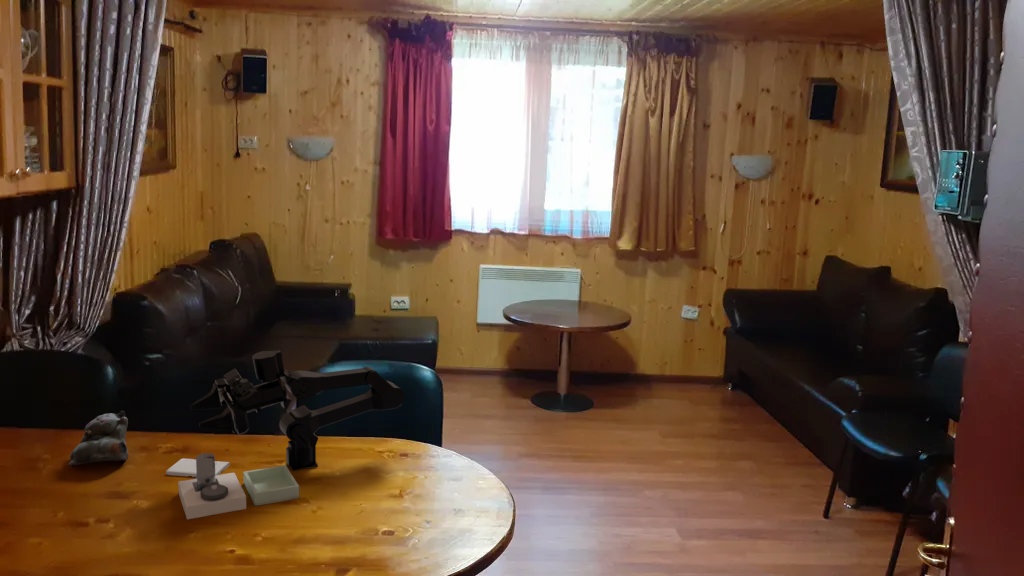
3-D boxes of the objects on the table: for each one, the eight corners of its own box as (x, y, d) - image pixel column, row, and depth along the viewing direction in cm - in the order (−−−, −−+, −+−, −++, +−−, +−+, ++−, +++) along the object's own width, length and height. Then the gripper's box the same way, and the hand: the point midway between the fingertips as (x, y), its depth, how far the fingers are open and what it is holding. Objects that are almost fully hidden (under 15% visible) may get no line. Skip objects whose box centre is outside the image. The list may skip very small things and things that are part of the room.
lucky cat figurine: (56, 466, 199) (64, 410, 204) (100, 469, 210) (106, 416, 214) (97, 461, 193) (103, 403, 197) (140, 465, 203) (145, 410, 207)
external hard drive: (182, 463, 206) (229, 467, 205) (166, 477, 198) (215, 480, 197) (182, 457, 205) (229, 461, 204) (165, 470, 197) (214, 474, 196)
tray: (285, 476, 199) (285, 465, 199) (299, 497, 188) (298, 485, 187) (243, 483, 194) (243, 471, 194) (255, 506, 183) (254, 493, 183)
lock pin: (214, 492, 189) (213, 452, 187) (217, 499, 186) (216, 458, 184) (196, 495, 187) (194, 454, 185) (198, 502, 184) (197, 461, 182)
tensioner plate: (234, 484, 194) (234, 463, 193) (246, 508, 182) (245, 486, 181) (178, 493, 188) (177, 471, 187) (186, 519, 176) (186, 496, 175)
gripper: (245, 352, 202) (179, 370, 194) (267, 384, 187) (197, 405, 180) (252, 390, 206) (188, 409, 199) (274, 424, 192) (206, 446, 184)
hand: (194, 416), depth 190 cm, fingers open, 9 cm apart
